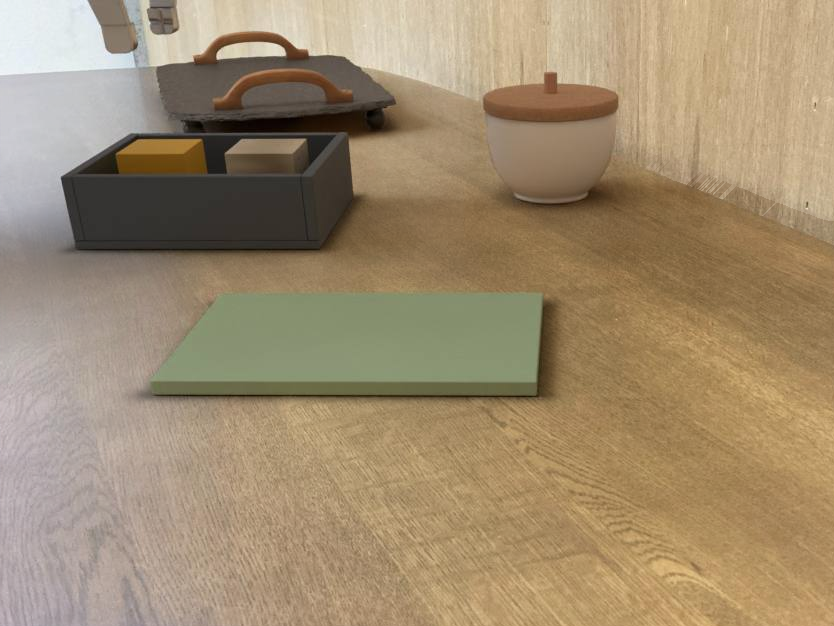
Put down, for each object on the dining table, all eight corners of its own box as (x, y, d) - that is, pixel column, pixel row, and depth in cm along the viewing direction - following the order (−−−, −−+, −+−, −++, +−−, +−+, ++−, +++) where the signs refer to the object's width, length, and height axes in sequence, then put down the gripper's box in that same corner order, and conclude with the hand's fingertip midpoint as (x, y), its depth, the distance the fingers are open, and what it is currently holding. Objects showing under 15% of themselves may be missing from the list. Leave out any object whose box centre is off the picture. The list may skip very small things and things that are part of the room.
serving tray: (157, 87, 140) (147, 32, 137) (344, 75, 146) (339, 23, 143) (171, 152, 108) (159, 82, 105) (409, 134, 115) (405, 68, 111)
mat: (152, 395, 59) (149, 380, 59) (223, 304, 71) (221, 292, 71) (536, 396, 59) (536, 381, 58) (543, 304, 71) (543, 292, 70)
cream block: (234, 222, 85) (224, 153, 83) (250, 205, 89) (241, 138, 87) (300, 222, 85) (292, 153, 82) (313, 204, 89) (306, 138, 87)
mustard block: (128, 222, 85) (115, 153, 83) (149, 205, 90) (137, 139, 87) (194, 222, 85) (183, 153, 83) (212, 205, 90) (202, 139, 87)
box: (75, 249, 82) (59, 176, 79) (142, 197, 94) (130, 133, 92) (319, 249, 81) (311, 176, 79) (353, 196, 94) (348, 132, 91)
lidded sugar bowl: (465, 188, 96) (460, 68, 91) (576, 173, 100) (577, 58, 95) (521, 218, 88) (519, 89, 83) (640, 200, 92) (645, 76, 87)
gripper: (110, -182, 83) (148, 24, 90) (-13, -192, 66) (46, 65, 73) (196, -184, 83) (227, 23, 90) (95, -195, 65) (143, 63, 73)
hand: (145, 42), depth 81 cm, fingers open, 8 cm apart
